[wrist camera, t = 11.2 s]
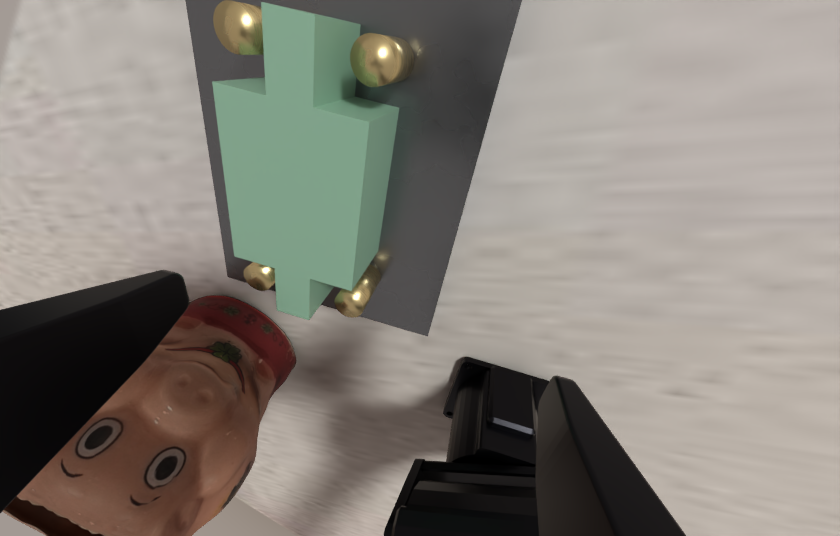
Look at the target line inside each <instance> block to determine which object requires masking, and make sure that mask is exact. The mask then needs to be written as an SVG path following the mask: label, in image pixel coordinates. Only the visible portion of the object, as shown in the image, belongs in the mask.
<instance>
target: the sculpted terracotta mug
mask: <svg viewBox="0 0 840 536" xmlns="http://www.w3.org/2000/svg"><path fill="white" fill-rule="evenodd" d="M295 364H296V357H295V353H294V350H293V347H292V345H291V342H290V341H289V339H288V338H287V337H286V335H285V333H284V332H283V331H282V330H281V329H280V328H279V327H278V326H277V325H276V324H275V323H274V322H273V321H272V320H270V319H269V318H268V317H267V316H266V315H264V314H263V313H261V312H260V311H258V310H257V309H255V308H253V307H252V306H250V305H248V304H246V303H244V302H242V301H240V300H237V299H234V298H231V297H226V296H206V297H202V298H199V299H197V300H194V301H192V302H190V303H189V306H188V308H187V310H186V311H185V312H184V314H183V315H182V316H181V317H180V319H179V320H178V321H177V322H176V324H175V325H174V326H173V327H172V329H171V330H170V331H169V332H168V334H167V335H166V336H165V337H164V339H163V340H162V341H161V343H160V344H159V345H158V346H157V348H156V349H155V350H154V351H153V353H152V354H151V355H150V356H149V357H148V359H147V360H146V361H145V362H144V363H143V364H142V365H141V366H140V368H139V369H138V370H137V371H136V372H135V373H134V374H133V375H132V376H131V377H130V378H129V379H128V380H127V381H126V382H125V383H124V384H123V385H122V386H121V387H120V389H119V390H118V391H117V392H116V393H115V394H114V395H113V396H112V397H111V398H110V399H109V400H108V401H107V402H106V403H105V404H104V405H103V406H102V407H101V408H100V409H99V411H98V412H97V413H96V414H95V415H94V416H93V417H92V418H91V419H90V420H89V421H88V422H87V423H86V424H85V425H84V426H83V427H82V428H81V429H80V430H79V431H78V433H77V434H76V435H75V436H74V437H73V438H72V439H71V440H70V441H69V442H68V443H67V444H66V445H65V446H64V447H63V448H62V449H61V450H60V451H59V452H58V453H57V455H56V456H55V457H54V458H53V459H52V460H51V461H50V462H49V463H48V464H47V465H46V466H45V467H44V468H43V469H42V470H41V471H40V472H39V473H38V474H37V475H36V477H35V478H34V479H33V480H32V481H31V482H30V483H29V484H28V485H27V486H26V487H25V488H24V489H23V490H22V491H21V492H20V493H19V494H18V495H17V496H16V497H15V498H14V500H13V501H12V502H11V503H10V504H9V505H8V506H7V507H6V508H5V509H4V510H3V512H4V513H6V514H7V515H9V516H11V517H12V518H14V519H16V520H18V521H20V522H21V523H24V524H25V525H27V526H29V527H31V528H33V529H35V530H37V531H39V532H41V533H43V534H44V535H46V536H192V535H193V534H194V533H195V532H196V531H197V530H198V529H200V528H201V527H202V526H204V525H205V524H206V523H207V522H208V521H210V520H211V519H212V518H214V517H215V516H216V515H217V514H218V513H219V512H220V511H221V510H222V509H224V507H225V506H226V505H227V504H228V503H229V501H230V500H231V499H232V498H233V497H234V496H235V494H236V493H237V491H238V490H239V488H240V487H241V485H242V483H243V482H244V480H245V479H246V477H247V475H248V473H249V472H250V470H251V468H252V466H253V463H254V461H255V457H256V450H257V437H258V431H259V424H260V421H261V419H262V417H263V415H264V413H265V410H266V408H267V405H268V402H269V400H270V398H271V397H272V395H273V394H274V392H275V391H276V390H277V389H278V388H279V387H280V386H281V385H282V384H283V383H284V382H285V380H286V379H287V377H288V375H289V374H290V372H291V370H292V369H293V368H294V367H295Z"/></svg>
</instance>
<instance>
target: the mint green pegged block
mask: <svg viewBox="0 0 840 536" xmlns="http://www.w3.org/2000/svg"><path fill="white" fill-rule="evenodd" d="M261 10H262V29H263V49H264V69H265V77H260V78H248V79H236V80H225V81H213V82H212V85H213V93H214V100H215V108H216V116H217V124H218V132H219V140H220V148H221V155H222V163H223V171H224V179H225V187H226V195H227V203H228V210H229V218H230V226H231V234H232V242H233V250H234V256H235V257H238V258H242V259H245V260H248V261H252V262H255V263H258V264H262V265H265V266H268V267H272V268H275V285H276V305H277V311H281V312H284V313H287V314H290V315H294V316H297V317H300V318H303V319H307V320H310V318H311V317H312V316H313V314H314V313H315V312H316V310H317V309H318V308H319V306H320V305H321V304H322V302H323V301H324V300H325V298H326V297H327V296H328V294H329V293H330V292H331V290H332V289H333V288H334V286H336V287H339V288H342V289H346V290H349V291H352V290H353V288H354V287H355V285H356V284H357V282H358V281H359V279H360V278H361V276H362V275H363V273H364V272H365V270H366V269H367V267H368V266H369V264H370V263H371V261H372V259H373V258H374V256H375V255H376V253H377V252H378V248H379V242H380V235H381V228H382V221H383V215H384V208H385V201H386V194H387V188H388V181H389V174H390V167H391V161H392V154H393V147H394V140H395V134H396V127H397V120H398V113H399V108H398V107H394V106H390V105H386V104H382V103H378V102H374V101H370V100H366V99H363V98H359V97H355V88H356V76H355V74H354V73H353V70H352V67H351V63H350V53H351V49H352V46H353V44H354V42H355V41H356V40H357V38H359V37H360V26H361V24H357V23H353V22H348V21H344V20H340V19H336V18H332V17H327V16H323V15H319V14H314V13H310V12H305V11H301V10H296V9H292V8H287V7H283V6H278V5H274V4H269V3H265V2H261Z"/></svg>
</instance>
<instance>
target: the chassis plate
mask: <svg viewBox="0 0 840 536" xmlns="http://www.w3.org/2000/svg"><path fill="white" fill-rule="evenodd" d="M521 1H522V0H186V6H187V13H188V19H189V26H190V32H191V39H192V46H193V52H194V59H195V65H196V72H197V78H198V85H199V91H200V98H201V104H202V111H203V118H204V124H205V131H206V137H207V144H208V150H209V157H210V163H211V170H212V177H213V183H214V190H215V196H216V203H217V209H218V216H219V222H220V229H221V235H222V242H223V249H224V255H225V262H226V268H227V275H228V277H230V278H233V279H237V280H240V281H243V282H247V283H248V284H249V285H250V286H252V287H253V288H255V289H257V290H261V291H265V290H268V289H270V290H274V291H276V285H275V268H272V267H268V266H265V265H262V264H258V263H255V262H252V261H248V260H245V259H242V258H238V257H235V256H234V250H233V242H232V234H231V226H230V218H229V210H228V203H227V195H226V187H225V179H224V171H223V163H222V155H221V148H220V140H219V132H218V124H217V116H216V108H215V100H214V93H213V85H212V82H213V81H225V80H236V79H248V78H260V77H265V69H264V49H263V29H262V10H261V2H265V3H269V4H274V5H278V6H283V7H287V8H292V9H296V10H301V11H305V12H310V13H314V14H319V15H323V16H327V17H332V18H336V19H340V20H344V21H348V22H353V23H357V24H361V26H360V37H359V38H357V40H356V41H355V42H354V44H353V46H352V49H351V53H350V63H351V67H352V70H353V73H354V74H355V76H356V88H355V97H359V98H363V99H366V100H370V101H374V102H378V103H382V104H386V105H390V106H394V107H398V108H399V113H398V120H397V127H396V134H395V140H394V147H393V154H392V161H391V167H390V174H389V181H388V188H387V194H386V201H385V208H384V215H383V221H382V228H381V235H380V242H379V248H378V252H377V253H376V255H375V256H374V258H373V259H372V261H371V263H370V264H369V266H368V267H367V269H366V270H365V272H364V273H363V275H362V276H361V278H360V279H359V281H358V282H357V284H356V285H355V287H354V288H353V290H352V291H349V290H346V289H342V288H339V287H336V286H334V288H333V289H332V290H331V292H330V293H329V294H328V296H327V297H326V298H325V300H324V301H323V302H322V304H321V305H324V306H327V307H331V308H334V309H337V310H338V311H339V312H340V313H341V314H343V315H345V316H347V317H358V316H361V317H364V318H368V319H371V320H375V321H378V322H381V323H385V324H388V325H391V326H395V327H398V328H401V329H405V330H408V331H412V332H415V333H418V334H422V335H425V336H428V333H429V330H430V326H431V322H432V319H433V315H434V312H435V308H436V305H437V301H438V298H439V294H440V290H441V287H442V283H443V280H444V276H445V273H446V269H447V265H448V262H449V258H450V255H451V251H452V248H453V244H454V240H455V237H456V233H457V230H458V226H459V223H460V219H461V215H462V212H463V208H464V205H465V201H466V198H467V194H468V191H469V187H470V183H471V180H472V176H473V173H474V169H475V166H476V162H477V158H478V155H479V151H480V148H481V144H482V141H483V137H484V133H485V130H486V126H487V123H488V119H489V116H490V112H491V108H492V105H493V101H494V98H495V94H496V91H497V87H498V84H499V80H500V76H501V73H502V69H503V66H504V62H505V59H506V55H507V51H508V48H509V44H510V41H511V37H512V34H513V30H514V26H515V23H516V19H517V16H518V12H519V9H520V5H521Z"/></svg>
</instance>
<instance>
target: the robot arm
mask: <svg viewBox="0 0 840 536" xmlns="http://www.w3.org/2000/svg"><path fill="white" fill-rule="evenodd" d="M188 306H189V297H188V293H187V290H186V286H185V282H184V279H183V277H182V276H181V275H180V274H178V273H175V272H171V271H167V270H160V271H156V272H152V273H148V274H144V275H139V276H135V277H131V278H127V279H123V280H119V281H115V282H111V283H107V284H103V285H99V286H95V287H91V288H87V289H83V290H79V291H75V292H71V293H67V294H63V295H59V296H55V297H51V298H47V299H43V300H39V301H35V302H31V303H26V304H22V305H18V306H14V307H10V308H6V309H2V310H0V513H1V512H2V511H3V510H4V509H5V508H6V507H7V506H8V505H9V504H10V503H11V502H12V501H13V500H14V498H15V497H16V496H17V495H18V494H19V493H20V492H21V491H22V490H23V489H24V488H25V487H26V486H27V485H28V484H29V483H30V482H31V481H32V480H33V479H34V478H35V477H36V475H37V474H38V473H39V472H40V471H41V470H42V469H43V468H44V467H45V466H46V465H47V464H48V463H49V462H50V461H51V460H52V459H53V458H54V457H55V456H56V455H57V453H58V452H59V451H60V450H61V449H62V448H63V447H64V446H65V445H66V444H67V443H68V442H69V441H70V440H71V439H72V438H73V437H74V436H75V435H76V434H77V433H78V431H79V430H80V429H81V428H82V427H83V426H84V425H85V424H86V423H87V422H88V421H89V420H90V419H91V418H92V417H93V416H94V415H95V414H96V413H97V412H98V411H99V409H100V408H101V407H102V406H103V405H104V404H105V403H106V402H107V401H108V400H109V399H110V398H111V397H112V396H113V395H114V394H115V393H116V392H117V391H118V390H119V389H120V387H121V386H122V385H123V384H124V383H125V382H126V381H127V380H128V379H129V378H130V377H131V376H132V375H133V374H134V373H135V372H136V371H137V370H138V369H139V368H140V366H141V365H142V364H143V363H144V362H145V361H146V360H147V359H148V357H149V356H150V355H151V354H152V353H153V351H154V350H155V349H156V348H157V346H158V345H159V344H160V343H161V341H162V340H163V339H164V337H165V336H166V335H167V334H168V332H169V331H170V330H171V329H172V327H173V326H174V325H175V324H176V322H177V321H178V320H179V319H180V317H181V316H182V315H183V314H184V312H185V311H186V310H187V308H188ZM467 364H469V365H467ZM443 414H444V415H445V416H446V417H449V418H452V426H451V432H450V439H449V446H448V452H447V459H446V462H441V461H425V460H424V459H415V461H414V463H413V465H412V468H411V470H410V472H409V474H408V476H407V478H406V481H405V483H404V485H403V488H402V490H401V492H400V495H399V497H398V499H397V502H396V504H395V506H394V509H393V511H392V513H391V516H390V518H389V520H388V523H387V525H386V528H385V531H384V536H686V535H685V533H684V532H683V531H682V529H681V528H680V526H679V525H678V524H677V522H676V521H675V520H674V518H673V517H672V515H671V514H670V513H669V511H668V510H667V508H666V507H665V506H664V504H663V503H662V502H661V500H660V499H659V497H658V496H657V495H656V493H655V492H654V490H653V489H652V488H651V486H650V485H649V484H648V482H647V481H646V479H645V478H644V477H643V475H642V474H641V472H640V471H639V470H638V468H637V467H636V466H635V464H634V463H633V461H632V460H631V459H630V457H629V456H628V454H627V453H626V452H625V450H624V449H623V448H622V446H621V445H620V443H619V442H618V441H617V439H616V438H615V436H614V435H613V434H612V432H611V431H610V430H609V428H608V427H607V425H606V424H605V423H604V421H603V420H602V418H601V417H600V416H599V414H598V413H597V412H596V410H595V409H594V407H593V406H592V405H591V403H590V402H589V400H588V399H587V398H586V396H585V395H584V394H583V392H582V391H581V389H580V388H579V387H578V385H577V384H576V383H575V382H574V381H573V380H571V379H568V378H564V377H560V376H553V377H552V378H551V380H550V381H546V380H543V379H540V378H536V377H533V376H530V375H526V374H523V373H520V372H516V371H513V370H510V369H506V368H503V367H500V366H496V365H493V364H490V363H486V362H483V361H480V360H476V359H473V358H468V357H467V358H464V359H463V360H462V362H461V364H460V367H459V370H458V372H457V375H456V378H455V380H454V383H453V385H452V388H451V391H450V393H449V396H448V399H447V401H446V404H445V407H444V411H443Z"/></svg>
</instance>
